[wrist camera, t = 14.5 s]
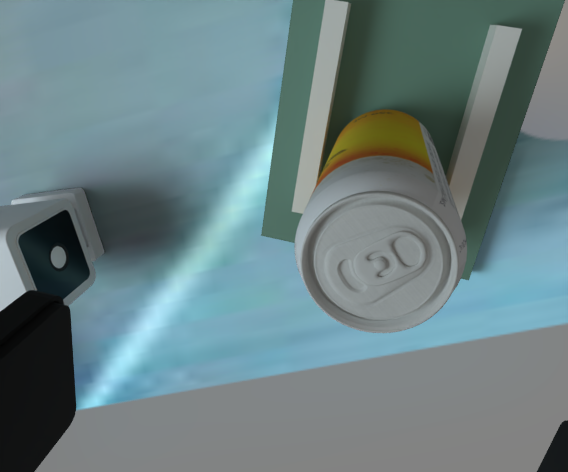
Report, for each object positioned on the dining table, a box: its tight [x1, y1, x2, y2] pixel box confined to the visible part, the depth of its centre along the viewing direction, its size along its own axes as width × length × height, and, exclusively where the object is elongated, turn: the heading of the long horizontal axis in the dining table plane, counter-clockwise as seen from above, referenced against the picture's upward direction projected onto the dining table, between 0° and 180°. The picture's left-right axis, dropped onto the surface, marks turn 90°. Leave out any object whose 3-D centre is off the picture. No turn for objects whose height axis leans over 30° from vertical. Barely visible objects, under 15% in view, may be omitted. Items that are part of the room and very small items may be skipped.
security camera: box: [0, 188, 104, 311], centre depth 34 cm, size 6×7×10 cm
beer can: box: [295, 109, 467, 333], centre depth 24 cm, size 6×6×15 cm
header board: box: [261, 0, 565, 280], centre depth 26 cm, size 22×14×7 cm, turn 172°
